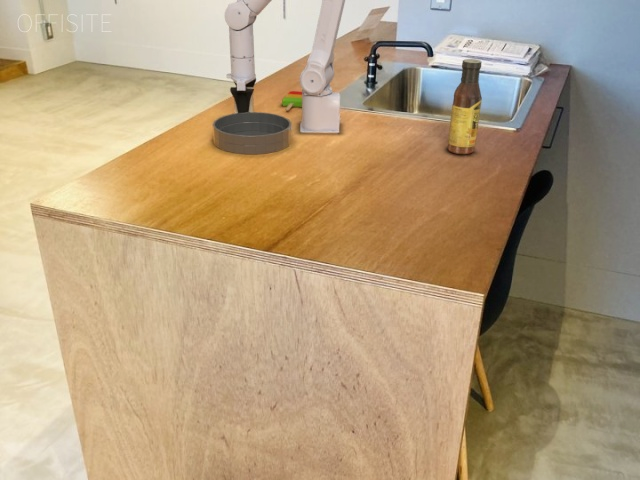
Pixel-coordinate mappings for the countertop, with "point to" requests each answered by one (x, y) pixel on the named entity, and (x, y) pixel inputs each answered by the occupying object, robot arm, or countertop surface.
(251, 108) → the cream block
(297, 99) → the popsicle
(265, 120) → the steel cake pan
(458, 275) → the countertop surface
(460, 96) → the sauce bottle
